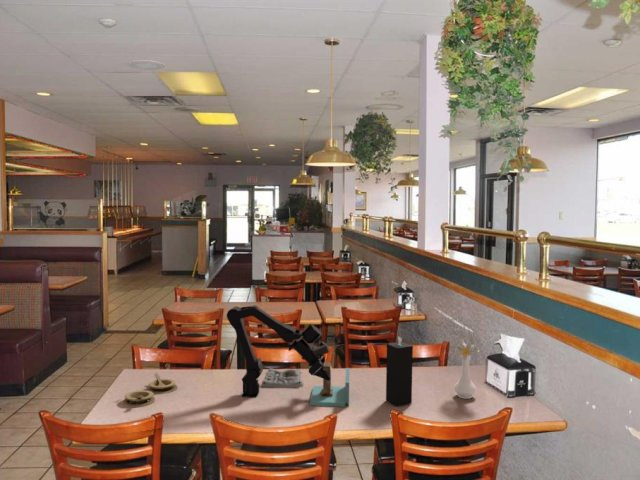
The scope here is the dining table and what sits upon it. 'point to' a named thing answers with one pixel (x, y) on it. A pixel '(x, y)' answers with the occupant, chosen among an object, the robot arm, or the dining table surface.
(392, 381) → the black square bottle
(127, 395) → the tableware set
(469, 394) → the flower vase
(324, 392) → the photo frame
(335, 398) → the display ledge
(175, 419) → the dining table surface
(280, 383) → the wall plaque
